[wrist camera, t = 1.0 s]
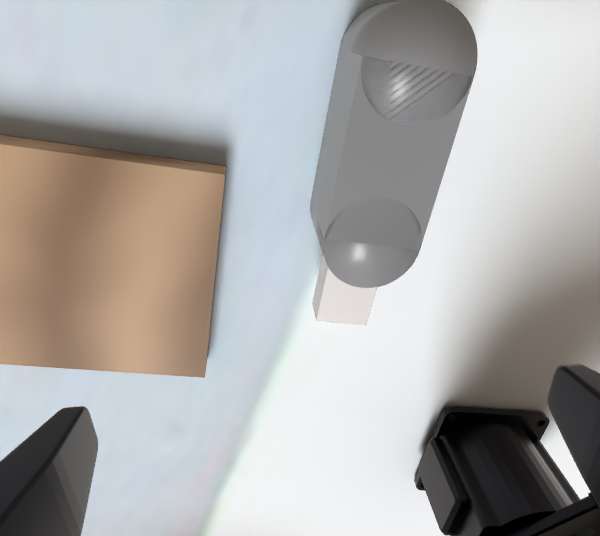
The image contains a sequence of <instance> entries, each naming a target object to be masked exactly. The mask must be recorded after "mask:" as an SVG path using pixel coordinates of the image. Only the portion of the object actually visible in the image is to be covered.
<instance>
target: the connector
mask: <svg viewBox="0 0 600 536" xmlns="http://www.w3.org/2000/svg"><path fill="white" fill-rule="evenodd" d="M476 65H477V43H476V39H475V35H474V32H473V29H472V27H471V25H470V23H469V22H468V20H467V19H466V17H465V16H464V15H463V14H462V13H461V12H460V11H459V10H458V9H457V8H456V7H454V6H453V5H451V4H449V3H447V2H445V1H442V0H404V1H396V2H389V3H382V4H378V5H375V6H372V7H370V8H368V9H366V10H365V11H363V12H362V13H361V14H359V15H358V16H357V17H356V18H355V19H354V20H353V21H352V23H351V24H350V25H349V27H348V28H347V30H346V32H345V34H344V36H343V39H342V41H341V45H340V49H339V55H338V60H337V65H336V70H335V76H334V81H333V86H332V92H331V97H330V102H329V108H328V113H327V118H326V123H325V129H324V134H323V139H322V145H321V150H320V155H319V161H318V166H317V171H316V176H315V182H314V187H313V192H312V198H311V204H310V212H311V217H312V221H313V224H314V227H315V230H316V233H317V236H318V239H319V243H320V246H321V249H322V252H323V256H322V261H321V265H320V270H319V275H318V279H317V284H316V289H315V294H314V298H313V303H312V304H313V308H314V312H315V317H316V321H324V322H335V323H346V324H357V325H367V321H368V318H369V314H370V311H371V307H372V304H373V300H374V296H375V293H376V289H377V287H379V286H383V285H386V284H388V283H391V282H393V281H394V280H396V279H398V278H399V277H400V276H402V275H403V274H404V273H405V272H406V271H407V270H408V269H409V268H410V267H411V266H412V264H413V263H414V261H415V260H416V258H417V256H418V253H419V251H420V247H421V244H422V241H423V238H424V235H425V231H426V228H427V225H428V222H429V219H430V215H431V212H432V209H433V206H434V203H435V200H436V196H437V193H438V190H439V187H440V184H441V180H442V177H443V174H444V171H445V168H446V164H447V161H448V158H449V155H450V152H451V148H452V145H453V142H454V139H455V136H456V132H457V129H458V126H459V123H460V120H461V116H462V113H463V110H464V107H465V104H466V100H467V97H468V94H469V91H470V88H471V84H472V81H473V78H474V75H475V71H476Z"/></svg>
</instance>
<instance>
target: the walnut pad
mask: <svg viewBox="0 0 600 536" xmlns="http://www.w3.org/2000/svg"><path fill="white" fill-rule="evenodd" d="M225 174H226V166H220V165H213V164H206V163H199V162H191V161H184V160H177V159H170V158H163V157H156V156H148V155H141V154H134V153H127V152H120V151H112V150H105V149H98V148H91V147H84V146H77V145H69V144H62V143H55V142H48V141H41V140H33V139H26V138H19V137H12V136H5V135H0V364H9V365H24V366H39V367H54V368H69V369H84V370H99V371H114V372H129V373H144V374H159V375H174V376H189V377H204V378H205V371H206V363H207V354H208V344H209V334H210V324H211V314H212V304H213V294H214V284H215V274H216V264H217V254H218V244H219V234H220V224H221V214H222V204H223V194H224V184H225Z"/></svg>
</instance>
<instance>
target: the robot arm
mask: <svg viewBox="0 0 600 536" xmlns="http://www.w3.org/2000/svg"><path fill="white" fill-rule="evenodd" d="M548 406H549V409H550V412H551V414H552V416H553V418H554V420H555V422H556V424H557V426H558V428H559V430H560V432H561V434H562V436H563V438H564V440H565V443H566V445H567V447H568V449H569V451H570V453H571V455H572V457H573V459H574V461H575V463H576V465H577V467H578V469H579V471H580V473H581V475H582V477H583V479H584V481H585V483H586V484H587V486H588V488H589V489H590V491H591V492H590V493H588V495H589V496H587V497H585V498H583V499H581V500H580V498H579V497H578V495H577V494H576V493H575V491H574V490H573V488H572V487H571V485H570V484H569V482H568V481H567V480H566V478H565V477H564V475H563V474H562V472H561V471H560V469H559V468H558V467H557V465H556V464H555V462H554V461H553V459H552V458H551V456H550V455H549V454H548V452H547V451H546V449H545V448H544V446H543V445H542V444H541V442H540V439H541V437H542V435H543V434H544V432H545V430H546V428H547V426H548V424H549V422H550V421H549V418H548V417H547V416H546V415H545V413H543V412H535V411H519V410H502V409H486V408H470V407H454V406H452V407H447V408H445V409H444V410H443V411H442V413H441V415H440V418H439V420H438V423H437V425H436V427H435V430H434V432H433V435H432V437H431V439H430V441H429V442H428V445H427V447H426V450H425V452H424V455H423V457H422V460H421V462H420V465H419V467H418V472H417V474H416V477H415V480H414V482H415V484H416V487H417V489H419V490H425V491H426V493H427V496H428V499H429V501H430V504H431V507H432V509H433V512H434V515H435V517H436V520H437V523H438V525H439V528H440V530H441V532H442V533H443V534H444V535H450V536H600V373H598V372H596V371H594V370H592V369H590V368H588V367H586V366H584V365H581V364H568V365H560V366H558V367H557V368H556V369H555V372H554V375H553V379H552V382H551V386H550V390H549V393H548ZM451 415H452V416H451ZM97 451H98V439H97V435H96V432H95V429H94V426H93V423H92V420H91V416H90V413H89V411H88V409H87V408H86V407H82V406H81V407H70V408H63V409H61V410H60V411H58V412H57V413H56V414H55V415H54V416H52V417H51V418H50V419H49V420H48V421H47V422H45V423H44V424H43V425H42V426H41V427H40V428H39V429H37V430H36V431H35V432H34V433H33V434H32V435H30V436H29V437H28V438H27V439H26V440H25V441H23V442H22V443H21V444H20V445H19V446H18V447H16V448H15V449H14V450H13V451H12V452H11V453H10V454H8V455H7V456H6V457H5V458H4V459H3V460H1V461H0V536H81V532H82V528H83V523H84V518H85V513H86V508H87V503H88V498H89V493H90V488H91V482H92V477H93V472H94V467H95V462H96V457H97Z"/></svg>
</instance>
